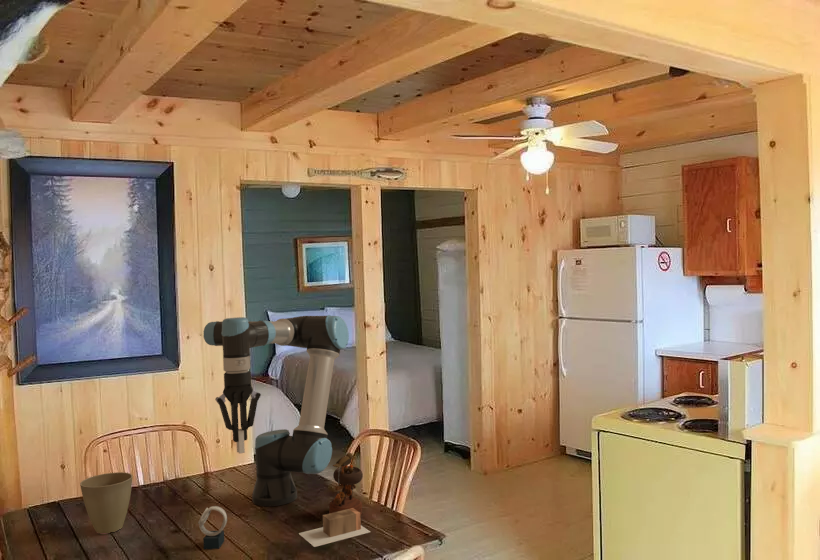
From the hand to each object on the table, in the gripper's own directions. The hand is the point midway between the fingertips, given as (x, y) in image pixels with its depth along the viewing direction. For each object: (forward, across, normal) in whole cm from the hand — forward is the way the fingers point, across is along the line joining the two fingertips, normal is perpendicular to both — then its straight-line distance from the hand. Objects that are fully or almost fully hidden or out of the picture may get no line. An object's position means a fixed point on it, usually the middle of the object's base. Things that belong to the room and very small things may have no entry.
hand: (240, 452), depth 198 cm
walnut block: (+24, +22, -10) cm, 33 cm away
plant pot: (+27, -32, +35) cm, 54 cm away
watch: (+27, -8, +3) cm, 28 cm away
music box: (+27, +34, +2) cm, 43 cm away
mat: (+26, +24, -10) cm, 37 cm away
